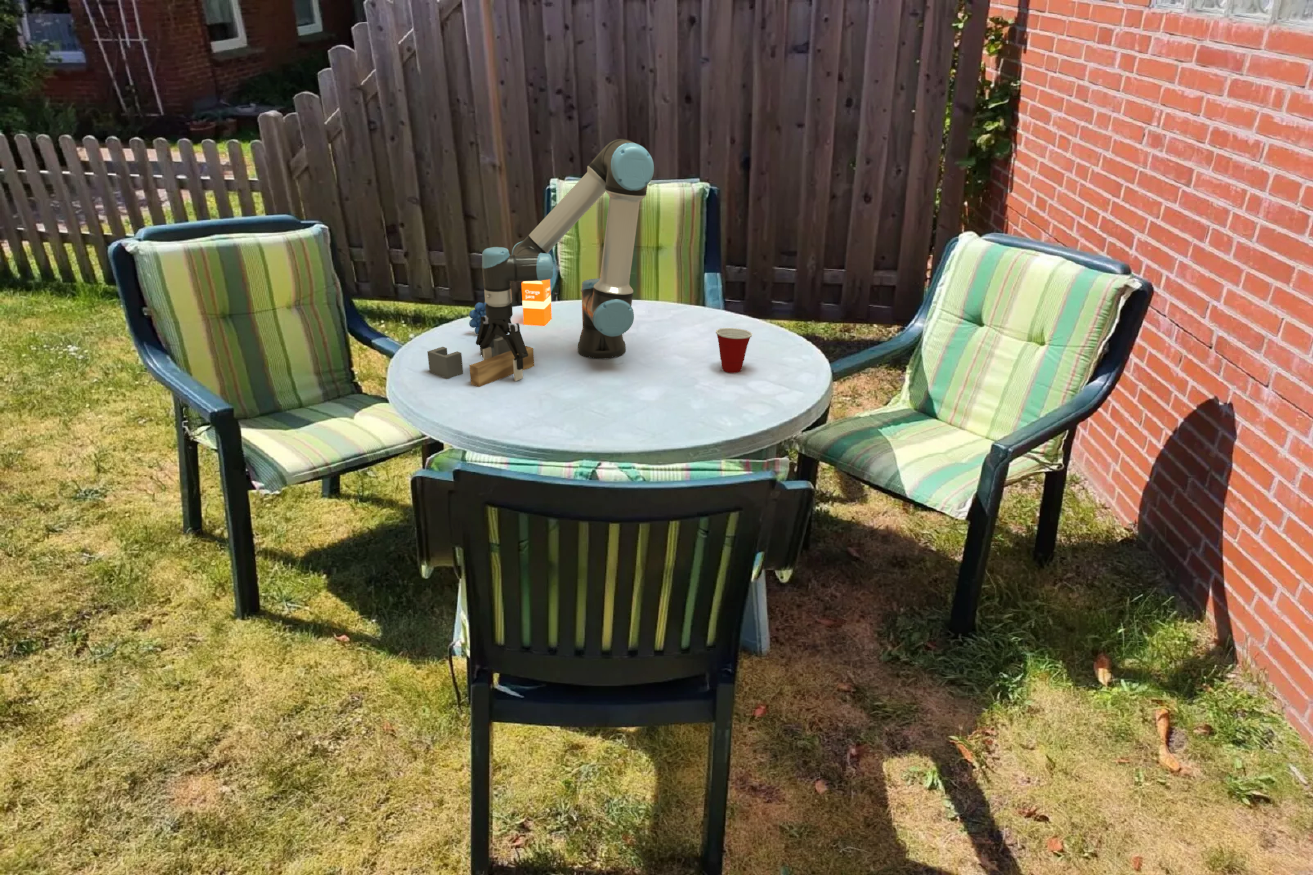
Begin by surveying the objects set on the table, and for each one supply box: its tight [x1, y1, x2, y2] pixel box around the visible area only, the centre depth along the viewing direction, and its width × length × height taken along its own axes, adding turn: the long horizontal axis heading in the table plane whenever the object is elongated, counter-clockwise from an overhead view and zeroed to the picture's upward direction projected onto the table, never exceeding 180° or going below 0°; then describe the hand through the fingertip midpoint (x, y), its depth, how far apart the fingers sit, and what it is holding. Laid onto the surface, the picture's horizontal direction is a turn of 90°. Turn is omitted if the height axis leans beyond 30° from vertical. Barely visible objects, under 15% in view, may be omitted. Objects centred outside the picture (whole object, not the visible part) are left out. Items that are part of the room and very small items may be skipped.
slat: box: [469, 345, 535, 388], centre depth 262 cm, size 4×22×6 cm, turn 142°
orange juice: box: [521, 279, 553, 327], centre depth 307 cm, size 8×9×20 cm
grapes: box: [468, 301, 490, 335], centre depth 295 cm, size 12×7×12 cm, turn 78°
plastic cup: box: [715, 327, 753, 374], centre depth 266 cm, size 11×11×12 cm
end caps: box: [427, 335, 511, 380], centre depth 270 cm, size 8×25×6 cm, turn 141°
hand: (503, 374), depth 263 cm, fingers open, 12 cm apart
